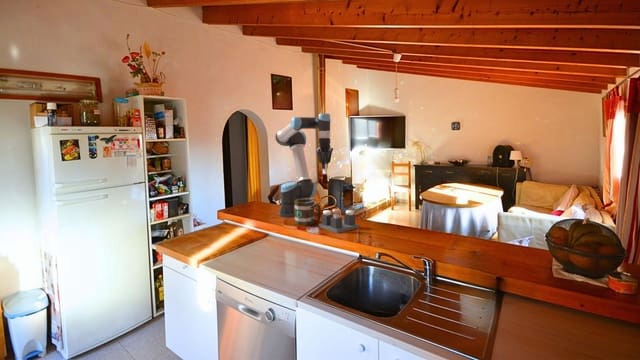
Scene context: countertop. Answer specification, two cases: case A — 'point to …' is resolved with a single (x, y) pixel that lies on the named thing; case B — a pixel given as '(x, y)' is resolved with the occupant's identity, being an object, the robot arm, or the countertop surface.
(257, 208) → the countertop surface
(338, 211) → the terracotta knob
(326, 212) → the cream knob near
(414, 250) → the countertop surface
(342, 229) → the knob mount
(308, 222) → the mug
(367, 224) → the countertop surface
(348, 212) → the cream knob left
